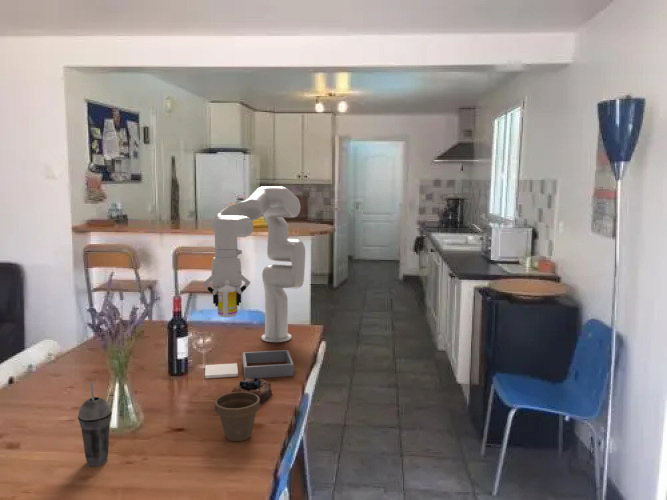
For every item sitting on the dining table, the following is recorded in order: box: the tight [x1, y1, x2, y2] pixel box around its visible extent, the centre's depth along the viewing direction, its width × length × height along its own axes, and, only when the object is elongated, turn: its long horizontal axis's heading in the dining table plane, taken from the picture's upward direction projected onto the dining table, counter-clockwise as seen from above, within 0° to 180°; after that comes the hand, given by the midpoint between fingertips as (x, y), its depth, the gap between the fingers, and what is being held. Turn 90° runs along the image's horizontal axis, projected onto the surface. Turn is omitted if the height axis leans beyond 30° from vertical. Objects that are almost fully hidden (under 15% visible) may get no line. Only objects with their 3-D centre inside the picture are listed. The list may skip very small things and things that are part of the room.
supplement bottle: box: [217, 280, 238, 318], centre depth 190 cm, size 7×7×13 cm
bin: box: [242, 349, 295, 379], centre depth 196 cm, size 17×17×4 cm
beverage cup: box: [77, 381, 113, 468], centre depth 129 cm, size 7×7×20 cm
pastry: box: [230, 377, 273, 406], centre depth 170 cm, size 11×12×6 cm
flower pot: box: [214, 391, 261, 442], centre depth 143 cm, size 12×11×10 cm
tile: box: [204, 362, 239, 379], centre depth 193 cm, size 11×11×1 cm
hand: (227, 304), depth 190 cm, fingers closed on supplement bottle, 6 cm apart
